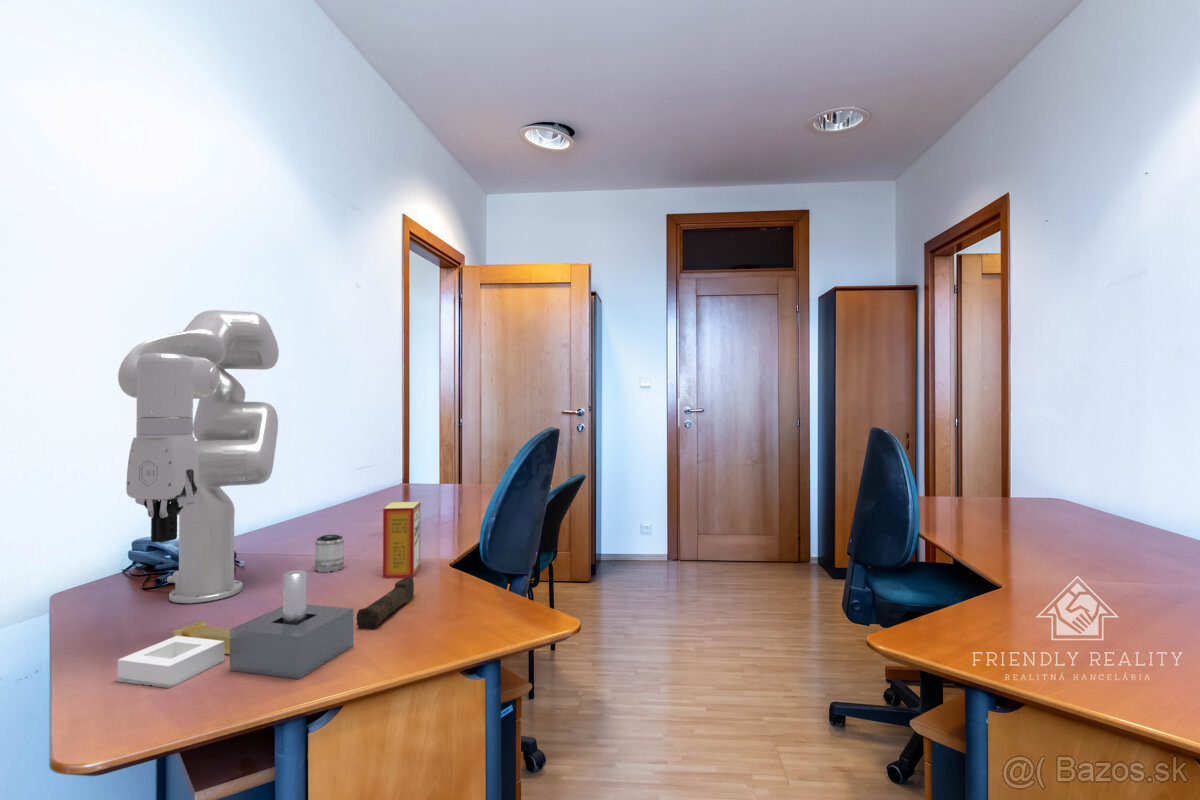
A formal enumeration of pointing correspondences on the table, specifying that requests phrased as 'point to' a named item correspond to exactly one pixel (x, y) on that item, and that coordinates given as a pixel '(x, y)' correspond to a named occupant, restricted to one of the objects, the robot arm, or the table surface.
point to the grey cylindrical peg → (294, 597)
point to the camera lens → (329, 553)
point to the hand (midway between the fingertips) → (164, 540)
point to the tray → (170, 661)
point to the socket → (291, 642)
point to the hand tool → (386, 604)
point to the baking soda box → (401, 539)
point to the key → (206, 633)
